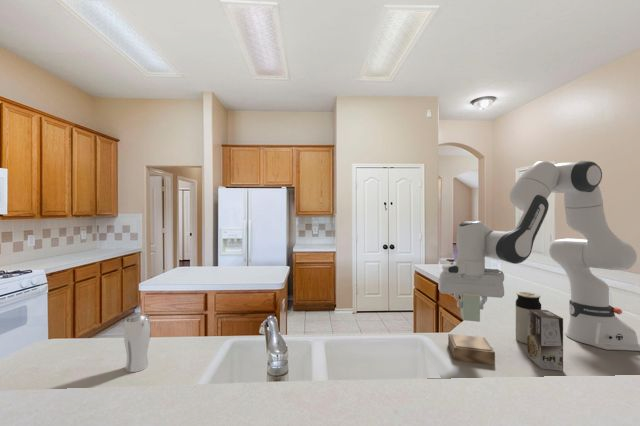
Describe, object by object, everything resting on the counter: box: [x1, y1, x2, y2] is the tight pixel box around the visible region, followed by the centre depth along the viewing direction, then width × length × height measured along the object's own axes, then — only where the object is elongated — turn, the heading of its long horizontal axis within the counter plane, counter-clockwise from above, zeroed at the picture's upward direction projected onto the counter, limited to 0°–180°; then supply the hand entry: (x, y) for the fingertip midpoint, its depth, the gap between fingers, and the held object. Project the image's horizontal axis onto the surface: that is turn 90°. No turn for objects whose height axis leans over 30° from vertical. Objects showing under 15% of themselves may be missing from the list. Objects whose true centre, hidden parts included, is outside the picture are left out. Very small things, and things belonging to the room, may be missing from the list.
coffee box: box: [527, 309, 564, 372], centre depth 95 cm, size 9×6×16 cm
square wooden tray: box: [447, 333, 496, 366], centre depth 101 cm, size 12×12×4 cm
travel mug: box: [515, 291, 542, 345], centre depth 112 cm, size 8×8×18 cm
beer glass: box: [123, 314, 152, 373], centre depth 90 cm, size 7×7×15 cm
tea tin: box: [460, 293, 481, 323], centre depth 101 cm, size 5×5×9 cm
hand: (469, 308), depth 101 cm, fingers closed on tea tin, 5 cm apart
